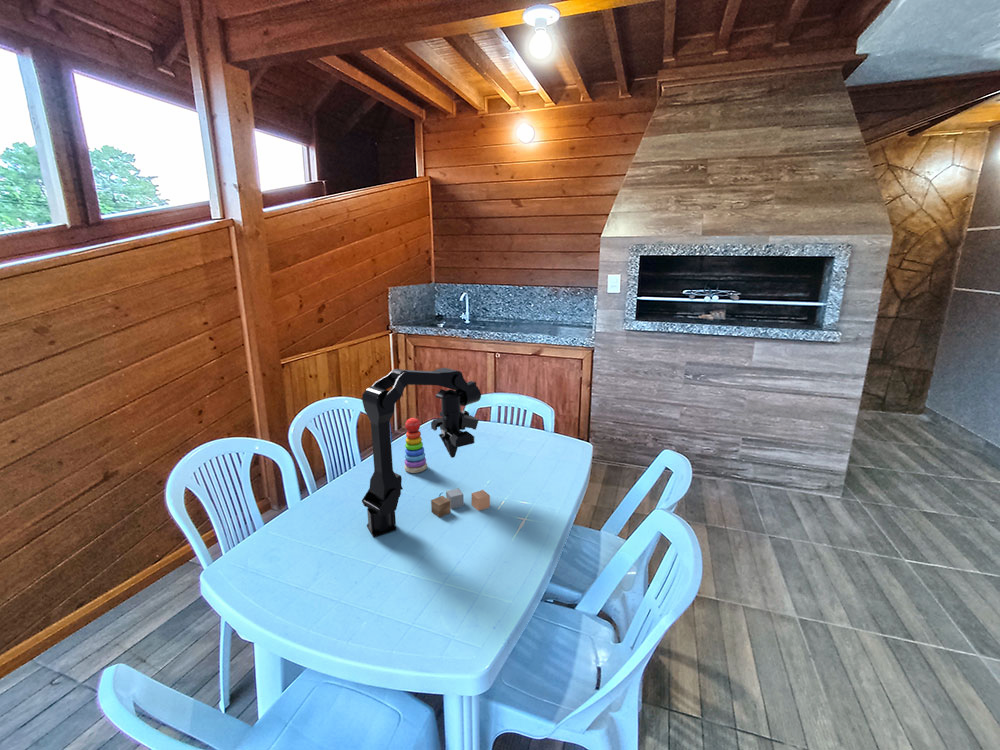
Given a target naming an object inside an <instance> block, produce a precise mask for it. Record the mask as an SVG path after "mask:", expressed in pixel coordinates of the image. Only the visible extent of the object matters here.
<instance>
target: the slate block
mask: <svg viewBox="0 0 1000 750" xmlns="http://www.w3.org/2000/svg"><path fill="white" fill-rule="evenodd" d="M445 498H447V499H448V500H450V507H451V510H453V509H457V508H460V507H464V505H465V504H464V500H465V499H464V493H463V492H462V490H461V489H460V488H454V489H450V490H446V491H445Z"/></svg>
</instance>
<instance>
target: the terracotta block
mask: <svg viewBox="0 0 1000 750" xmlns="http://www.w3.org/2000/svg"><path fill="white" fill-rule="evenodd" d="M471 506H472V507H473V508H474V509H476V510H477V511H483V510H485V509H488V508H491V495H490V494H489V493H487V492H486V491H485V490H484V489H481V490H477V491H474V492H471Z"/></svg>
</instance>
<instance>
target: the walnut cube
mask: <svg viewBox="0 0 1000 750" xmlns="http://www.w3.org/2000/svg"><path fill="white" fill-rule="evenodd" d="M430 506H431V507H430V508H431V513H432V514H434V515H435V516H436V517H438V518H441V517H444V516H446V515H449V514H451V510H452V509H451V507H450V500H448V499H447V498H446V496H443V495H440V496H438V497H434V498H433V499H431V500H430Z"/></svg>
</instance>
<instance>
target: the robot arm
mask: <svg viewBox="0 0 1000 750" xmlns="http://www.w3.org/2000/svg"><path fill="white" fill-rule="evenodd" d="M410 385H411V386H414V385H415V386H439V387H442V388H446V390H445V389H442V388H441V389H439V391H438V392H437V393H436V395H434V396H435V398H437V399H440V400H441V401H440V402H441V411H440V412H439V413H438V414H439V416H440V417H439V418H436V419H435V418H434V419H433V420H432V421H431V422H430V425H431V426H430V427H431V428H430V429H431V430H433V431H434V432H435V431H437V430H438V428H439V430H440V431H441V432H440V434H438V436H439V438H440V440H441V441H442V443H443V445H444V447H445V449H446V450H447V451H446V452H448V454H449V457H450V458H456V454H457V451H458V448H461V447H464V446H469V445H473V444H475V436H474V435H473V434H471V433H470V432H469V431H467V430H466V428H467V429H472V430H475V431H476V430H477V427H478V424H479V419H478V418H477V417H475V416H472V415H470V412H469V411H468V410H461V409H462V408H461V406H462V407H465V406H469V405H472V404H474V403H477V402H480V400H481V398H482V393H481V391H480V388H479V387H478V386H477V382H476V381H473V380H472V381H471V380H470V381H468V382H467V381H466V380H465V379H464V375H463V372H462V371H461V370H456V369H451V368H447V367H441V368H437V369H435V370H431V371H430V370H412V369H411V370H410V369H400V368H395V369H392V370H391V371H390V372H389V373H387V375H385V376H383V377H381V378H380V379H378V380H376V381H375V382H374V383H373V384H372V385H371V386H370V387H367V388H366V390H365V391H363V393H362V395H361V400H362V401H361V402H362V406H363V408H364V409H363V410H364V412H365V414H366V416H367V418H368V419H369V421H370V429H371V441H372V442H371V443H372V455H373V456H372V457H373V467H374V469H373V470H374V472H373V473H372V475H371V477H370V479H369V488H368V490H367V492H366V493H365V495H364V496H363V498H362V500H361V503H362V505H363V506H364V507H366V509H367V524H366V527H367V529H368V530H369V532H370V533H371V535H372V537H374V538H375V537H378V536H379V537H380V536H381V535H385V534H388V533H391V532H394V531H395V532H396V531H397V527H396V524H397V520H396V519H397V518H396V511H397V508H398V504H399V499H400V497H401V495H402V490H403V489H404V488H403V485H402V480H403V479H402V475H400V474H398V473H397V472H394V467H393V465H394V464H393V452H392V436H391V419H392V417H393V415H394V413H395V409H396V403H397V402H398V401H399V400H400V399H401V398H402V396H403V393H404V391H405V388H406V387H407V386H410ZM388 389H390V390H388Z"/></svg>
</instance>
